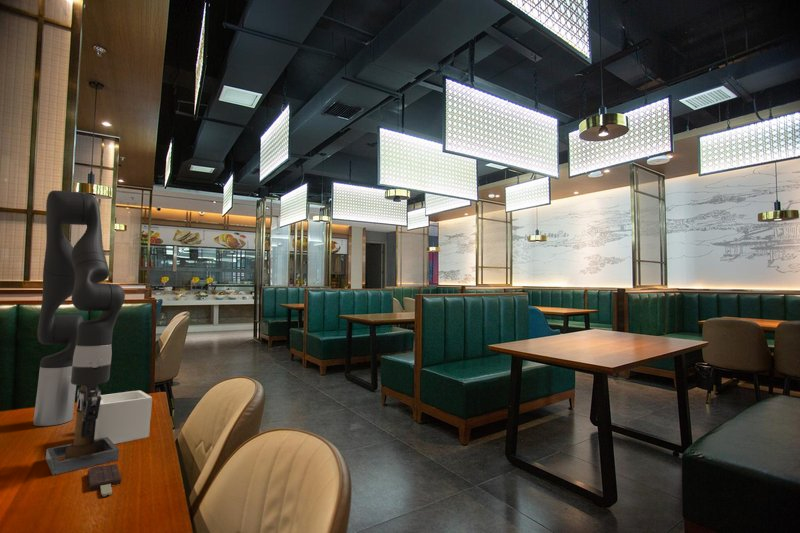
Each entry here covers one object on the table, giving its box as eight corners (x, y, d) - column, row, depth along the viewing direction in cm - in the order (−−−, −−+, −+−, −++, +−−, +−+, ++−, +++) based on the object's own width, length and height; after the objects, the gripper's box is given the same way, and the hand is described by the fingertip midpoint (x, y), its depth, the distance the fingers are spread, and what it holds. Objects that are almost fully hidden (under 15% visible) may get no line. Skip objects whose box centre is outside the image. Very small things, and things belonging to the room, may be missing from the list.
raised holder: (87, 436, 109) (91, 396, 111) (136, 426, 118) (140, 390, 119) (96, 447, 101) (100, 404, 102) (148, 436, 110) (152, 397, 111)
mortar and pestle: (58, 462, 90) (67, 384, 92) (73, 451, 96) (81, 378, 98) (91, 460, 92) (99, 383, 94) (104, 450, 98) (111, 377, 100)
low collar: (45, 459, 93) (46, 448, 94) (106, 446, 102) (107, 437, 102) (52, 475, 85) (53, 463, 86) (117, 460, 94) (118, 449, 94)
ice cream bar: (122, 495, 79) (116, 469, 90) (123, 486, 79) (116, 462, 90) (89, 503, 75) (87, 475, 87) (90, 494, 75) (88, 467, 87)
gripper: (67, 360, 98) (60, 430, 97) (78, 368, 89) (69, 446, 87) (104, 358, 104) (97, 424, 102) (117, 365, 94) (110, 438, 93)
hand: (84, 433), depth 95 cm, fingers closed on mortar and pestle, 4 cm apart
